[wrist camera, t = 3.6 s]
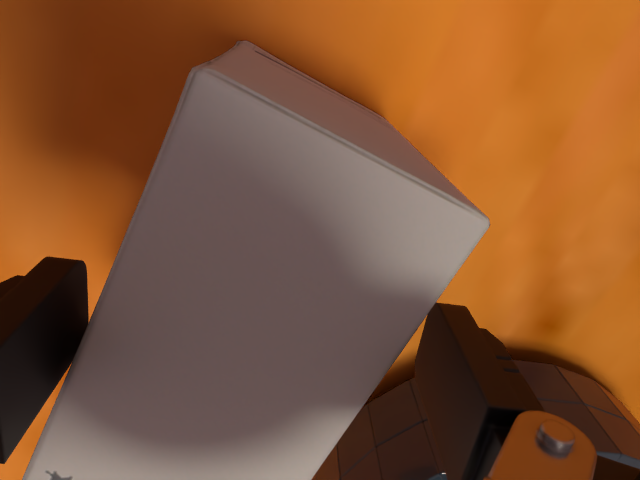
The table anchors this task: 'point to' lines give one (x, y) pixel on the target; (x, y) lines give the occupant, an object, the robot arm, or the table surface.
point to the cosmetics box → (256, 285)
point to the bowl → (419, 445)
